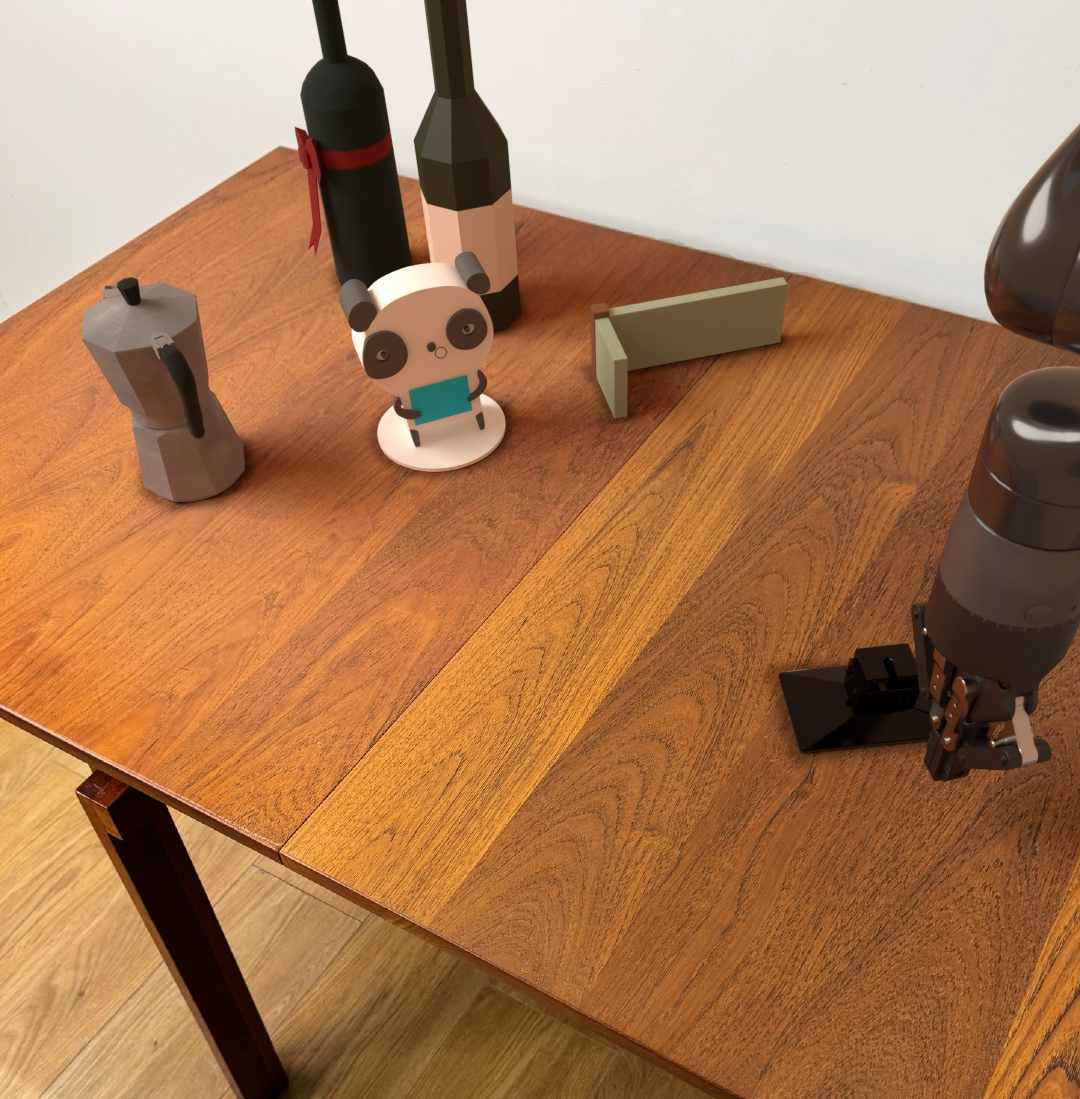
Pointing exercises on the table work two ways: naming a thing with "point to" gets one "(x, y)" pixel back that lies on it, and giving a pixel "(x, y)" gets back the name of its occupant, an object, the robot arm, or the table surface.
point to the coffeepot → (164, 388)
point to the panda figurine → (428, 361)
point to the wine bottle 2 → (466, 167)
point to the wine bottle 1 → (351, 159)
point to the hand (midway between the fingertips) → (943, 769)
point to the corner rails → (681, 331)
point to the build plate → (858, 701)
